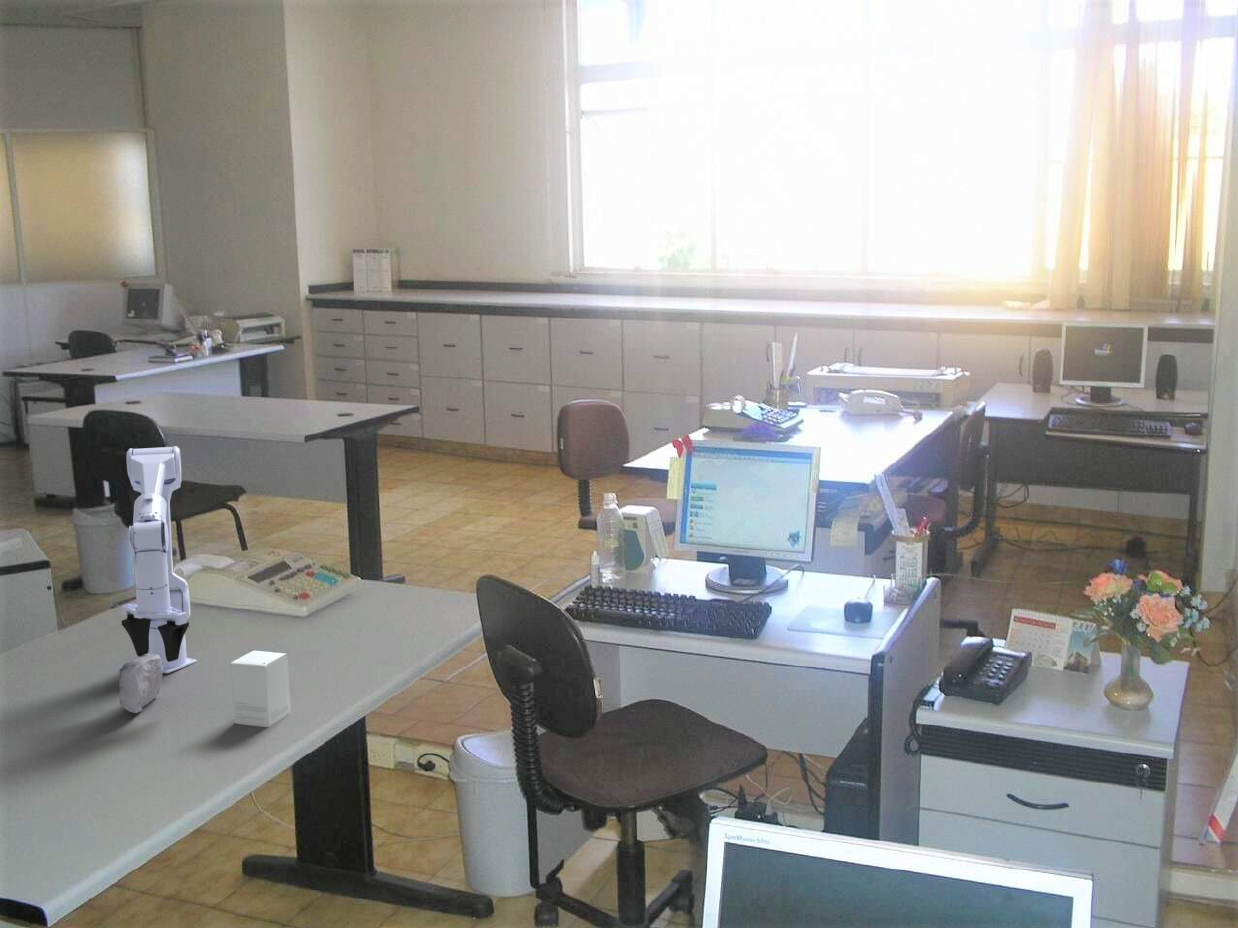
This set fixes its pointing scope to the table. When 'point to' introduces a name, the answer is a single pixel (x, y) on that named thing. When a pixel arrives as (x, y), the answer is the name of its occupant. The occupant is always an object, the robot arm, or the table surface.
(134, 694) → the stone block
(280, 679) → the supplement box
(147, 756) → the table surface
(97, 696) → the table surface
